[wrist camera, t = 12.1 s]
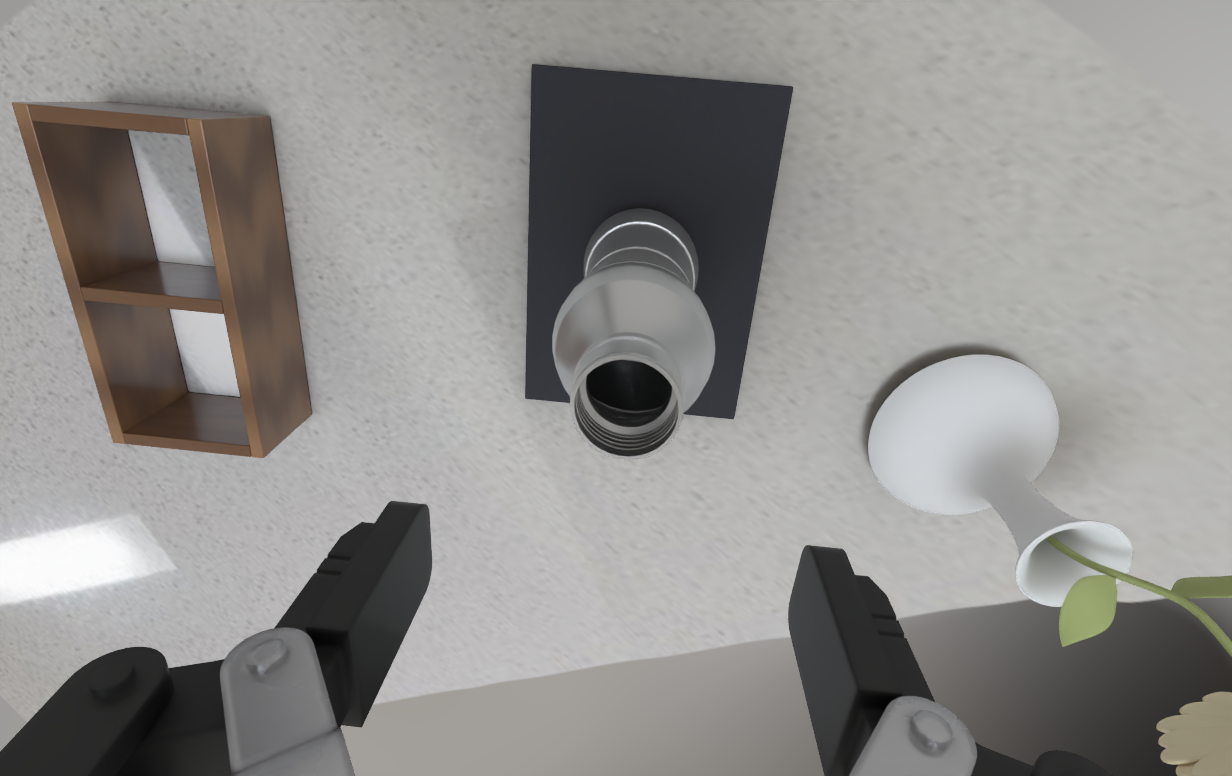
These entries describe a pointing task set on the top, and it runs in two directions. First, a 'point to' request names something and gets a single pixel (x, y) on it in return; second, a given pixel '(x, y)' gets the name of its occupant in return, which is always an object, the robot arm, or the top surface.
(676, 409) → the plastic bottle
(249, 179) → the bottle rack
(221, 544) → the top surface
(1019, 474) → the flower in vase
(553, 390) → the mat
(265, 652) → the robot arm
